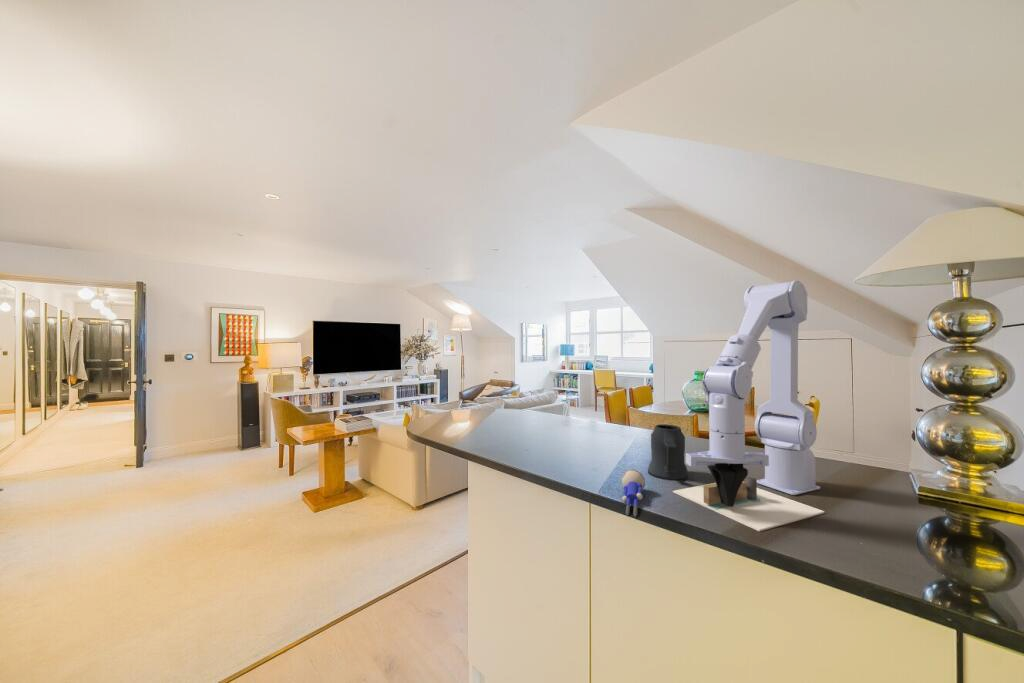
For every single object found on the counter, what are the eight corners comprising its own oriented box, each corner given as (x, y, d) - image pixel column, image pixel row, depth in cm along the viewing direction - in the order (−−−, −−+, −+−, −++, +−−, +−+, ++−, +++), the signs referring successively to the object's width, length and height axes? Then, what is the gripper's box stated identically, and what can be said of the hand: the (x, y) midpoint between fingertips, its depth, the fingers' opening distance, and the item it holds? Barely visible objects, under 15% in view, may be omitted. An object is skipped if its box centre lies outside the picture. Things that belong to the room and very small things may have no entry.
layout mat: (732, 480, 85) (732, 478, 85) (824, 512, 69) (824, 510, 69) (672, 492, 78) (672, 490, 78) (759, 531, 62) (759, 529, 62)
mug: (646, 466, 95) (646, 421, 95) (685, 469, 93) (685, 424, 93) (649, 482, 84) (649, 432, 84) (694, 487, 81) (694, 434, 81)
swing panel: (740, 496, 74) (740, 480, 74) (746, 499, 73) (746, 482, 73) (703, 502, 71) (703, 485, 71) (708, 504, 70) (708, 487, 70)
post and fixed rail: (722, 487, 81) (721, 467, 81) (759, 501, 74) (758, 479, 74) (715, 488, 80) (715, 468, 80) (752, 503, 73) (752, 481, 73)
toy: (648, 525, 66) (648, 484, 80) (638, 501, 66) (640, 463, 80) (622, 529, 67) (626, 488, 81) (613, 505, 67) (619, 468, 81)
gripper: (750, 425, 74) (750, 495, 73) (677, 426, 73) (677, 496, 73) (777, 434, 67) (777, 511, 66) (696, 434, 66) (697, 512, 66)
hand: (727, 504), depth 69 cm, fingers closed
